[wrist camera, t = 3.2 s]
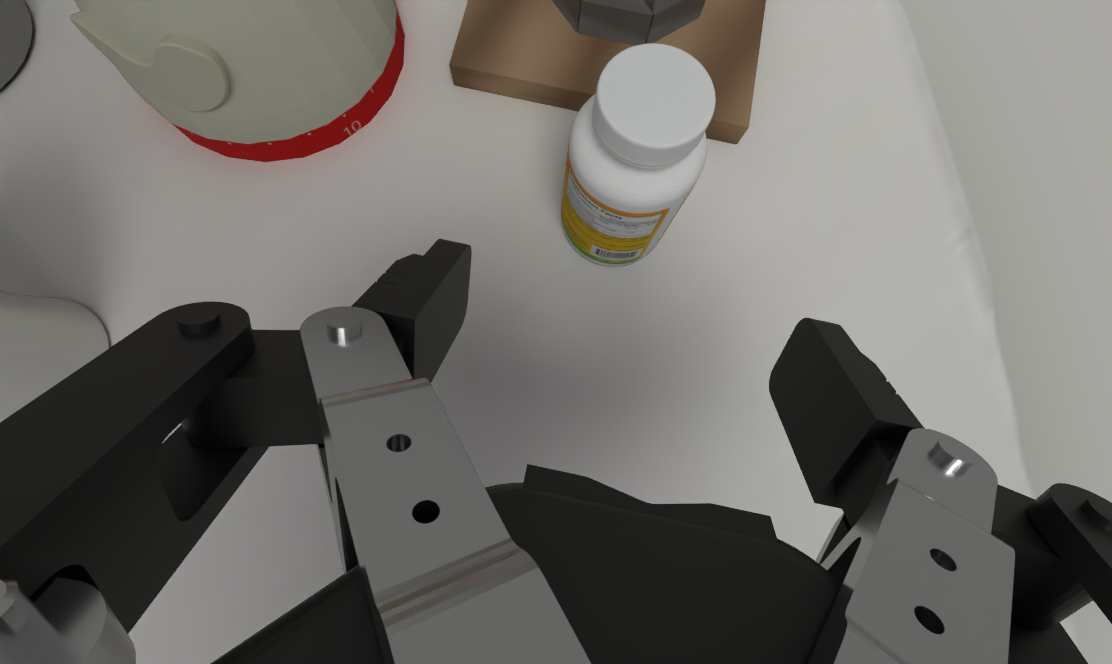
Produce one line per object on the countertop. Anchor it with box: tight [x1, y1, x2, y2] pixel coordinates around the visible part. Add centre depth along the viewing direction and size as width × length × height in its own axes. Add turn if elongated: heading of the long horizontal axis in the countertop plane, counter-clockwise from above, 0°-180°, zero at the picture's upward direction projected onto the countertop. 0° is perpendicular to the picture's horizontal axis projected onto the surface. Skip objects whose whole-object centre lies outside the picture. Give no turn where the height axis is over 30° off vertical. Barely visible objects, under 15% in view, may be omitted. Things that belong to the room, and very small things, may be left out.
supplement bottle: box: [561, 43, 716, 266], centre depth 20 cm, size 5×5×10 cm
